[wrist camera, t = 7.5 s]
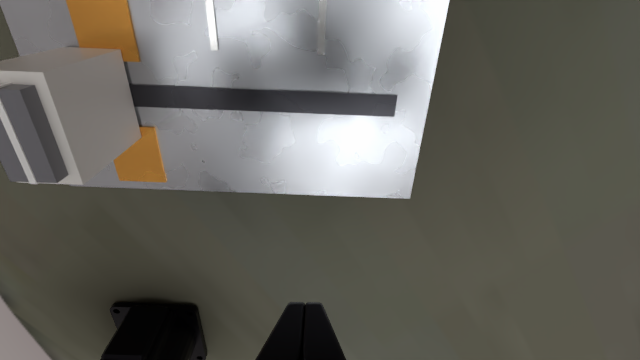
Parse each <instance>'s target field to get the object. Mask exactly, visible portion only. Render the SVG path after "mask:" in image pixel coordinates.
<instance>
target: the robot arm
mask: <svg viewBox="0 0 640 360" xmlns="http://www.w3.org/2000/svg"><path fill="white" fill-rule="evenodd" d="M110 312H111V315H112V317H113V320H114V322H115V325H116V327H117V331H116V332H115V334H114V336H113V337H112V339H111V341H110V342H109V344H108V345H107V347H106V349H105V350H104V352H103V354H102V356H101V357H102V358H101V359H100V360H206V356H207V351H206V346H205V341H204V337H203V332H202V327H201V322H200V318H199V313H198V309H197V308H196V307H195V306H193V305H174V304H146V303H114V304H113V305H112V307H111V308H110ZM256 360H346V358H345V356H344V354H343V351H342V349H341V347H340V344H339V342H338V340H337V337H336V335H335V333H334V330H333V328H332V326H331V323H330V321H329V319H328V316H327V314H326V312H325V309H324V307H323V305H322V304H321V303H319V302H308V303H306V305H305V304H304V303H303V302H290V303H289V304H288V305H287V306H286V308H285V310H284V312H283V313H282V315H281V317H280V318H279V320H278V322H277V324H276V325H275V327H274V329H273V330H272V332H271V334H270V336H269V337H268V339H267V341H266V343H265V344H264V346H263V348H262V349H261V351H260V353H259V355H258V356H257V358H256Z"/></svg>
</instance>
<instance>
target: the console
mask: <svg viewBox="0 0 640 360" xmlns="http://www.w3.org/2000/svg"><path fill="white" fill-rule="evenodd" d="M448 5H449V0H0V6H1V8H2V11H3V13H4V16H5V19H6V21H7V24H8V26H9V29H10V32H11V34H12V37H13V39H14V42H15V45H16V47H17V50H18V52H19V55H20V57H21V56H25V55H29V54H34V53H38V52H43V51H47V50H52V49H56V48H61V47H78V48H102V49H120V50H121V54H122V58H123V62H124V66H125V71H126V75H127V79H128V83H129V87H130V91H131V95H132V100H133V104H134V108H135V112H136V116H137V120H138V124H139V128H140V133H141V137H142V138H140V139H139V140H138V141H137V142H135V143H134V144H133V145H132V146H130V147H129V148H128V149H127V150H126V151H124V152H123V153H122V154H121V155H119V156H118V157H117V158H116V159H114V160H113V161H112V162H111V163H110V164H108V165H107V166H106V167H105V168H103V169H102V170H101V171H100V172H98V173H97V174H96V175H95V176H94V177H92V178H91V179H90V180H89V181H87V182H86V183H85V184H84V185H76V184H69V185H70V186H88V187H114V188H141V189H167V190H194V191H220V192H246V193H273V194H299V195H326V196H352V197H379V198H405V199H410V195H411V190H412V185H413V180H414V175H415V170H416V165H417V160H418V155H419V150H420V145H421V140H422V135H423V130H424V125H425V120H426V115H427V110H428V105H429V100H430V95H431V90H432V85H433V80H434V75H435V70H436V65H437V60H438V55H439V50H440V45H441V40H442V35H443V30H444V25H445V20H446V15H447V10H448Z"/></svg>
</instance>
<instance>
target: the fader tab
mask: <svg viewBox="0 0 640 360" xmlns="http://www.w3.org/2000/svg"><path fill="white" fill-rule="evenodd" d="M140 138H142V137H141V133H140V128H139V124H138V120H137V116H136V112H135V108H134V104H133V100H132V95H131V91H130V87H129V83H128V79H127V75H126V71H125V66H124V62H123V58H122V54H121V50H120V49H102V48H78V47H61V48H56V49H52V50H47V51H43V52H38V53H34V54H29V55H25V56H21V57H16V58H12V59H7V60H3V61H0V161H1V163H2V165H3V167H4V169H5V171H6V173H7V175H8V177H9V180H10V181H13V182H23V183H30V184H38V183H49V184H76V185H84V184H85V183H86V182H87V181H89V180H90V179H91V178H92V177H94V176H95V175H96V174H97V173H98V172H100V171H101V170H102V169H103V168H105V167H106V166H107V165H108V164H110V163H111V162H112V161H113V160H114V159H116V158H117V157H118V156H119V155H121V154H122V153H123V152H124V151H126V150H127V149H128V148H129V147H130V146H132V145H133V144H134V143H135V142H137V141H138V140H139V139H140Z"/></svg>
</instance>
